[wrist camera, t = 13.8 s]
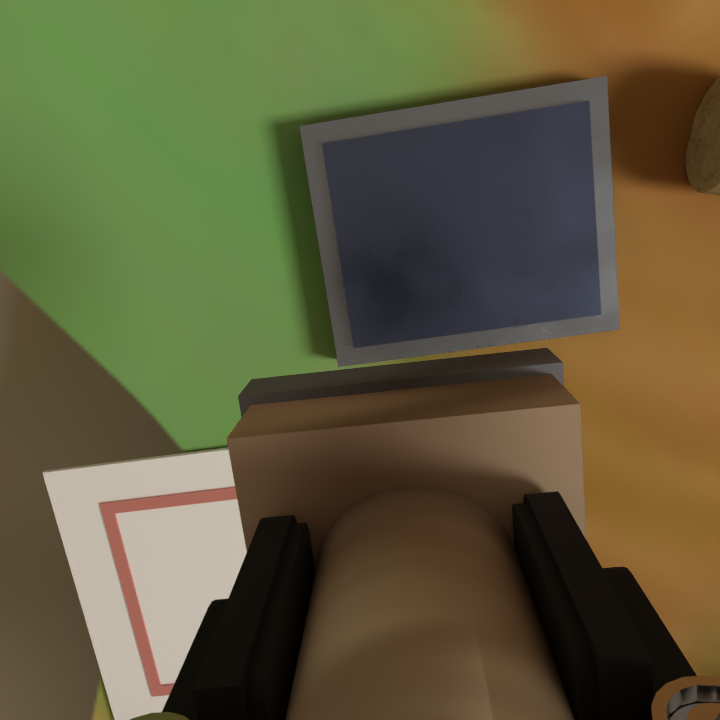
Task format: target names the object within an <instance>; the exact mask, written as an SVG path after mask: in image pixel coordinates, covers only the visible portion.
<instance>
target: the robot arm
mask: <svg viewBox="0 0 720 720" xmlns="http://www.w3.org/2000/svg"><path fill="white" fill-rule="evenodd" d="M512 518H513V532H514V546H515V551H516V554H517V557H518V560H519V563H520V565H521V568H522V571H523V574H524V577H525V579H526V582H527V585H528V588H529V591H530V593H531V596H532V599H533V602H534V605H535V607H536V610H537V613H538V616H539V619H540V621H541V624H542V627H543V630H544V633H545V635H546V638H547V641H548V644H549V647H550V650H551V652H552V655H553V658H554V661H555V664H556V666H557V669H558V672H559V675H560V678H561V680H562V683H563V686H564V689H565V692H566V694H567V697H568V700H569V703H570V706H571V708H572V711H573V714H574V717H575V720H720V678H719V677H711V676H703V675H701V676H697V675H696V674H695V672H694V671H693V669H692V668H691V666H690V664H689V663H688V661H687V660H686V658H685V657H684V655H683V653H682V652H681V650H680V649H679V647H678V646H677V644H676V642H675V641H674V639H673V638H672V636H671V635H670V633H669V631H668V630H667V628H666V627H665V625H664V624H663V622H662V620H661V619H660V617H659V616H658V614H657V613H656V611H655V609H654V608H653V606H652V605H651V603H650V602H649V600H648V598H647V597H646V595H645V594H644V592H643V590H642V589H641V587H640V586H639V584H638V583H637V581H636V579H635V578H634V576H633V575H632V573H631V572H630V571H629V570H628V568H626V567H613V568H602V567H601V565H600V563H599V562H598V560H597V558H596V556H595V555H594V553H593V551H592V549H591V547H590V546H589V544H588V542H587V540H586V539H585V537H584V535H583V533H582V532H581V530H580V528H579V526H578V525H577V523H576V521H575V519H574V517H573V516H572V514H571V512H570V510H569V509H568V507H567V505H566V503H565V502H564V500H563V498H562V496H561V494H560V493H559V492H558V491H555V492H544V493H533V494H524V496H523V503H519V504H513V505H512ZM314 578H315V566H314V560H313V553H312V547H311V540H310V534H309V528H308V525H307V523H306V522H305V523H297V521H296V518H295V516H294V515H288V516H277V517H266V518H261V519H260V521H259V523H258V526H257V528H256V531H255V533H254V536H253V538H252V541H251V543H250V546H249V548H248V551H247V553H246V556H245V558H244V561H243V563H242V566H241V568H240V571H239V573H238V576H237V578H236V581H235V583H234V586H233V588H232V591H231V593H230V596H229V598H228V599H217V600H214V601H212V602H211V604H210V605H209V607H208V609H207V611H206V613H205V616H204V618H203V620H202V622H201V625H200V627H199V629H198V631H197V634H196V636H195V638H194V640H193V643H192V645H191V647H190V649H189V652H188V654H187V656H186V659H185V661H184V663H183V665H182V668H181V670H180V672H179V674H178V677H177V679H176V681H175V683H174V686H173V688H172V690H171V692H170V695H169V697H168V699H167V702H166V704H165V706H164V708H163V711H162V712H159V713H149V714H146V715H142V716H139V717H135V718H132V719H130V720H285V719H286V714H287V709H288V704H289V699H290V695H291V690H292V685H293V680H294V675H295V670H296V665H297V661H298V656H299V651H300V646H301V641H302V636H303V631H304V627H305V622H306V617H307V612H308V607H309V602H310V597H311V593H312V588H313V583H314Z"/></svg>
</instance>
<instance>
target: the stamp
mask: <svg viewBox="0 0 720 720" xmlns="http://www.w3.org/2000/svg"><path fill="white" fill-rule="evenodd" d="M238 398H239V404H240V410H241V416H242V418H241V419H240V421H239V422H238V423H237V425H236V426H235V428H234V429H233V431H232V432H231V433H230V435H229V436H228V438H227V444H228V450H229V455H230V461H231V467H232V472H233V478H234V483H235V489H236V495H237V500H238V506H239V511H240V517H241V523H242V528H243V534H244V539H245V545H246V551H248V548H249V546H250V543H251V541H252V538H253V536H254V533H255V531H256V528H257V526H258V523H259V521H260V519H261V518H266V517H277V516H288V515H294V516H295V518H296V521H297V523H305V522H306V523H307V525H308V528H309V534H310V540H311V547H312V553H313V560H314V566H315V578H314V583H313V588H312V593H311V597H310V602H309V607H308V612H307V617H306V622H305V627H304V631H303V636H302V641H301V646H300V651H299V656H298V661H297V665H296V670H295V675H294V680H293V685H292V690H291V695H290V699H289V704H288V709H287V714H286V719H285V720H575V717H574V714H573V711H572V708H571V706H570V703H569V700H568V697H567V694H566V692H565V689H564V686H563V683H562V680H561V678H560V675H559V672H558V669H557V666H556V664H555V661H554V658H553V655H552V652H551V650H550V647H549V644H548V641H547V638H546V635H545V633H544V630H543V627H542V624H541V621H540V619H539V616H538V613H537V610H536V607H535V605H534V602H533V599H532V596H531V593H530V591H529V588H528V585H527V582H526V579H525V577H524V574H523V571H522V568H521V565H520V563H519V560H518V557H517V554H516V551H515V546H514V532H513V518H512V505H513V504H519V503H523V496H524V494H533V493H544V492H555V491H558V492H559V493H560V494H561V496H562V498H563V500H564V502H565V503H566V505H567V507H568V509H569V510H570V512H571V514H572V516H573V517H574V519H575V521H576V523H577V525H578V526H579V528H580V530H581V532H582V533H583V535H584V537H585V539H586V524H585V502H584V480H583V458H582V436H581V414H580V403H579V402H578V401H577V400H576V399H575V398H574V397H573V396H572V395H571V394H570V393H569V392H568V390H567V389H566V388H565V387H564V379H563V362H562V361H561V360H560V359H559V358H558V357H556V356H555V355H554V354H553V353H552V352H551V351H550V350H549V349H548V348H541V349H532V350H523V351H513V352H504V353H494V354H485V355H476V356H466V357H457V358H447V359H438V360H428V361H419V362H410V363H400V364H391V365H381V366H372V367H363V368H353V369H344V370H334V371H325V372H316V373H306V374H297V375H287V376H278V377H269V378H259V379H251V381H250V382H249V383H248V384H247V386H246V387H245V388H244V389H243V391H242V392H241V393H240V394H239V396H238Z"/></svg>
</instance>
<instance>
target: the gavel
mask: <svg viewBox="0 0 720 720" xmlns="http://www.w3.org/2000/svg"><path fill="white" fill-rule="evenodd" d="M686 171H687V175H688V179H689V182H690V184H691V186H692V187H693V189H694V190H696V191H697V192H700V193H707V194H715V195H720V77H719V78H718V79H717V80H716V81H715V82H714V83H713V85H712V86H711V87H710V88H709V90H708V91H707V93H706V95H705V96H704V98H703V100H702V101H701V103H700V105H699V107H698V110H697V112H696V115H695V119H694V123H693V127H692V131H691V135H690V139H689V143H688V147H687V152H686Z"/></svg>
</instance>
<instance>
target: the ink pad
mask: <svg viewBox="0 0 720 720" xmlns="http://www.w3.org/2000/svg"><path fill="white" fill-rule="evenodd" d="M299 127H300V133H301V139H302V146H303V152H304V158H305V164H306V170H307V176H308V183H309V189H310V195H311V201H312V207H313V213H314V220H315V226H316V232H317V238H318V244H319V250H320V257H321V263H322V269H323V275H324V281H325V287H326V293H327V300H328V306H329V312H330V318H331V324H332V330H333V337H334V343H335V349H336V355H337V361H338V367H341V366H349V365H356V364H364V363H371V362H379V361H386V360H394V359H401V358H409V357H416V356H424V355H431V354H439V353H446V352H454V351H461V350H469V349H476V348H484V347H491V346H499V345H506V344H514V343H521V342H529V341H536V340H544V339H551V338H559V337H566V336H574V335H581V334H589V333H596V332H604V331H611V330H619V329H620V327H619V307H618V287H617V267H616V247H615V227H614V206H613V186H612V166H611V146H610V126H609V106H608V86H607V76H604V77H598V78H591V79H585V80H579V81H573V82H567V83H561V84H555V85H548V86H542V87H536V88H530V89H524V90H518V91H511V92H505V93H499V94H493V95H487V96H481V97H475V98H468V99H462V100H456V101H450V102H444V103H438V104H432V105H425V106H419V107H413V108H407V109H401V110H395V111H388V112H382V113H376V114H370V115H364V116H358V117H352V118H345V119H339V120H333V121H327V122H321V123H315V124H309V125H302V126H299Z"/></svg>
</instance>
